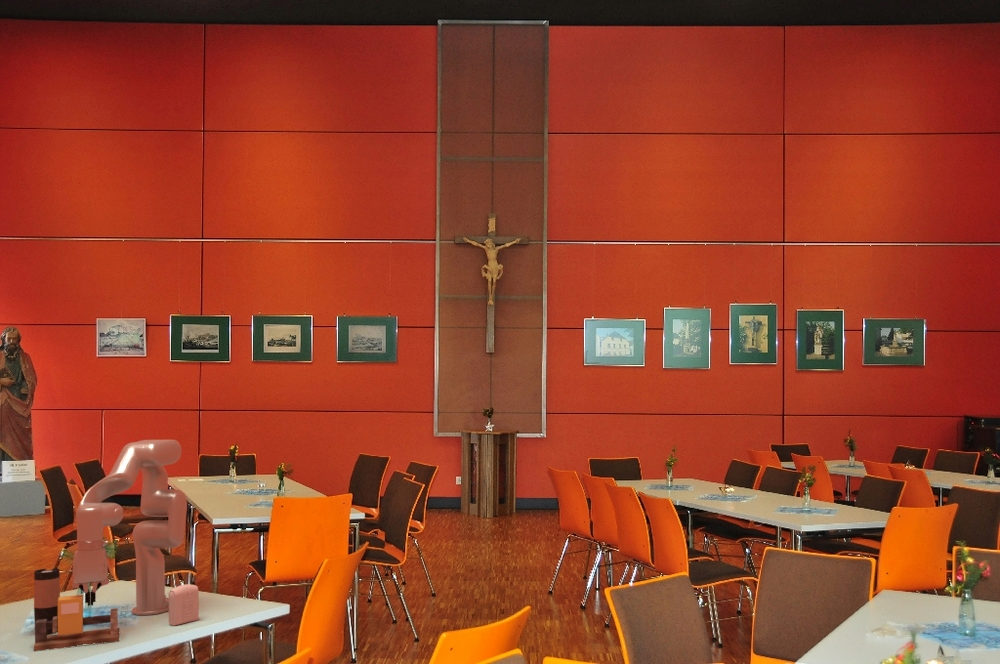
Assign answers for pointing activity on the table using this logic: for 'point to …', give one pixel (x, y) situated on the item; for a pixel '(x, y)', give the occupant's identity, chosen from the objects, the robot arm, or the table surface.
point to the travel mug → (46, 595)
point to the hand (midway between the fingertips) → (90, 604)
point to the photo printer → (183, 604)
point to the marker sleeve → (70, 614)
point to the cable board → (76, 639)
